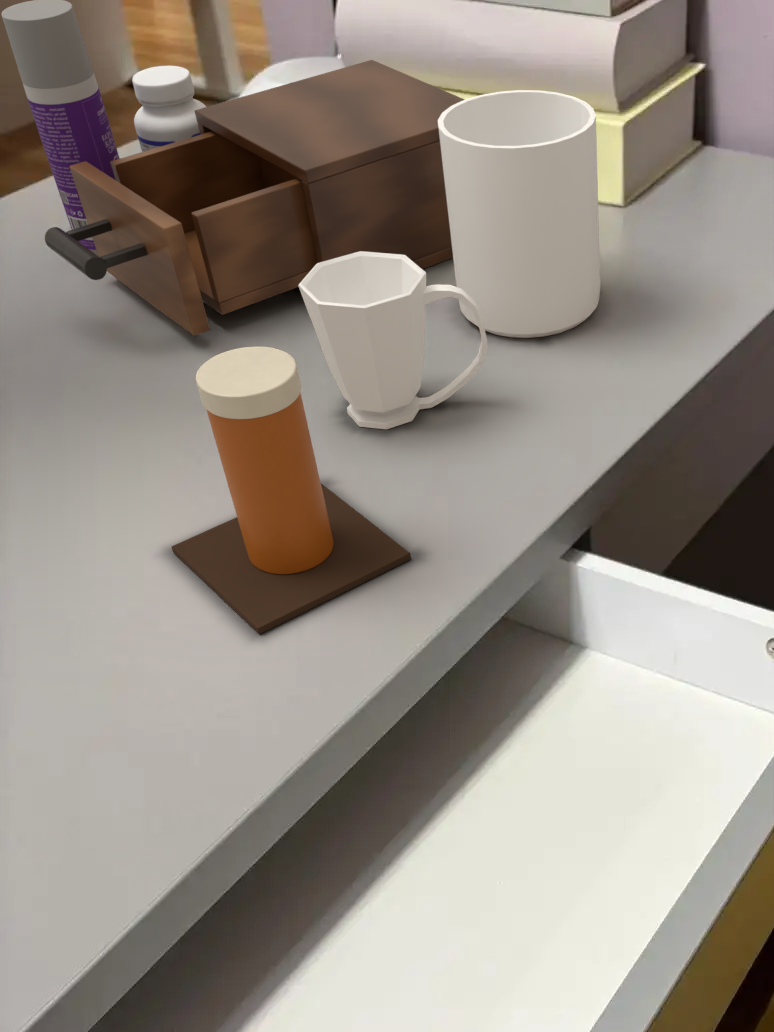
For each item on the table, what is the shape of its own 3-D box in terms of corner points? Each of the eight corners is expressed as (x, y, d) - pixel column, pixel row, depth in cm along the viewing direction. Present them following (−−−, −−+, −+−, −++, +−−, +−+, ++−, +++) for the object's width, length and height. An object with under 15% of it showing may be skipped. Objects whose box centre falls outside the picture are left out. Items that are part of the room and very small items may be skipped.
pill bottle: (222, 195, 96) (188, 56, 89) (243, 221, 93) (209, 78, 86) (153, 211, 95) (113, 70, 88) (171, 237, 92) (131, 93, 84)
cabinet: (331, 304, 84) (305, 170, 77) (224, 236, 91) (193, 110, 85) (502, 239, 90) (491, 110, 84) (389, 181, 98) (372, 59, 91)
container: (152, 245, 91) (84, 10, 80) (90, 263, 89) (11, 25, 78) (130, 224, 93) (60, -7, 82) (69, 240, 92) (-10, 8, 81)
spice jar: (275, 588, 62) (226, 407, 55) (230, 547, 65) (177, 368, 57) (352, 550, 64) (315, 371, 57) (306, 512, 67) (264, 335, 59)
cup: (325, 386, 76) (298, 255, 70) (486, 369, 77) (473, 239, 71) (326, 447, 72) (297, 313, 66) (498, 429, 73) (485, 294, 67)
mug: (453, 344, 80) (430, 150, 71) (466, 261, 88) (446, 78, 79) (601, 339, 79) (596, 145, 71) (600, 257, 88) (595, 73, 79)
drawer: (133, 359, 78) (98, 249, 72) (44, 287, 85) (7, 183, 80) (371, 270, 85) (354, 166, 80) (271, 211, 92) (249, 112, 87)
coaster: (259, 634, 60) (257, 628, 60) (172, 552, 65) (170, 546, 65) (411, 559, 64) (410, 552, 64) (319, 486, 69) (318, 480, 69)
